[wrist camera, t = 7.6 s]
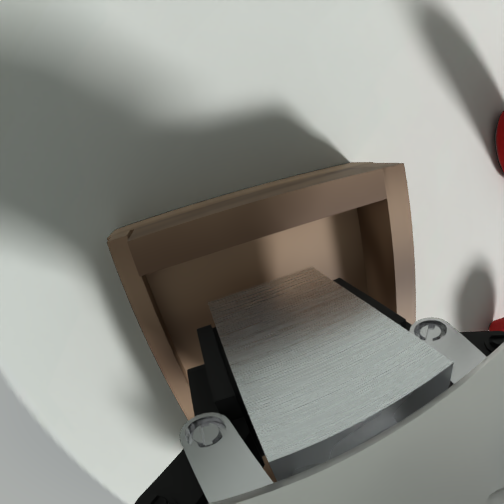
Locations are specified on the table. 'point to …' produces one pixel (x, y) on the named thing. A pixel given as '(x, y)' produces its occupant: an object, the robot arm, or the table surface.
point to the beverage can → (500, 140)
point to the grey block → (321, 368)
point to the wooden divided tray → (265, 253)
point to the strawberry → (497, 325)
